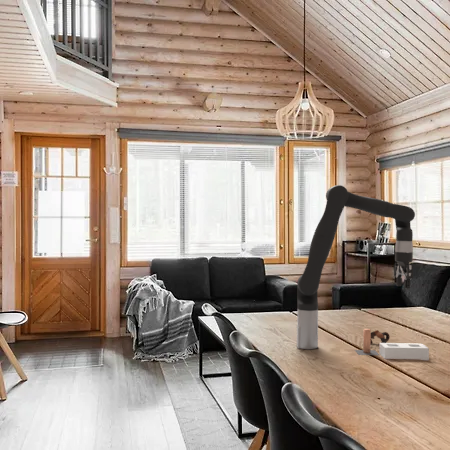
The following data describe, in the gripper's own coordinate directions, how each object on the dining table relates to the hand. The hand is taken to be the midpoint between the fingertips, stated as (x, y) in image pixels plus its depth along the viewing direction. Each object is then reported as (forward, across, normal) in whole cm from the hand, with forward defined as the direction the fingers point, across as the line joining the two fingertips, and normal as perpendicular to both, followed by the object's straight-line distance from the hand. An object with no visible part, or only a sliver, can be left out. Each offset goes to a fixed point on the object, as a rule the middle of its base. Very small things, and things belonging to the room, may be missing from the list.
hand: (403, 287), depth 245 cm
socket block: (+28, +15, -6) cm, 32 cm away
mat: (+28, +7, -19) cm, 35 cm away
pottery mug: (+28, -8, -8) cm, 30 cm away
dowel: (+28, +7, -19) cm, 34 cm away
